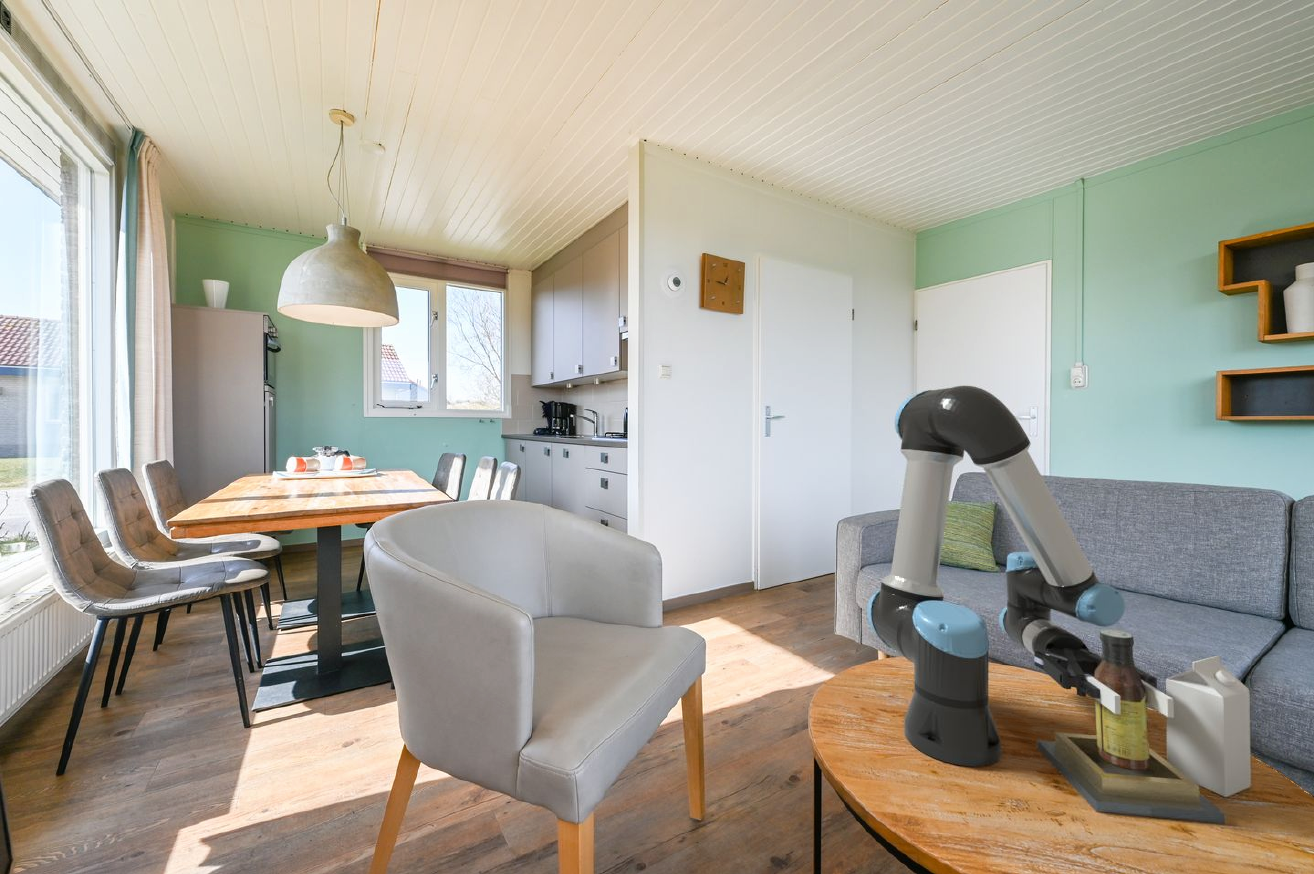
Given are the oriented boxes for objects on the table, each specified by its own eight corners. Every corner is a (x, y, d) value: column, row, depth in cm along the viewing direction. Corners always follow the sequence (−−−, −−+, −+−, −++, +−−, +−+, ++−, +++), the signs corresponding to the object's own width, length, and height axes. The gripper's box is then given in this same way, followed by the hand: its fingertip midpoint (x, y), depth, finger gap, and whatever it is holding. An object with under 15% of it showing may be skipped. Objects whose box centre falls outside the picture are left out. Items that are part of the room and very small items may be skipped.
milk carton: (1166, 771, 87) (1165, 653, 87) (1192, 761, 89) (1190, 647, 89) (1225, 798, 80) (1223, 671, 80) (1251, 787, 83) (1249, 664, 83)
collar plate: (1096, 811, 78) (1096, 783, 78) (1037, 748, 93) (1037, 725, 93) (1225, 824, 75) (1224, 795, 75) (1141, 757, 91) (1141, 733, 91)
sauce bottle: (1161, 773, 81) (1158, 641, 81) (1119, 773, 81) (1116, 641, 81) (1124, 748, 87) (1122, 626, 87) (1085, 748, 87) (1083, 626, 88)
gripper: (1112, 669, 100) (1219, 737, 78) (1000, 663, 103) (1072, 727, 81) (1111, 629, 100) (1218, 685, 78) (999, 624, 104) (1071, 677, 81)
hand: (1143, 706), depth 79 cm, fingers closed on sauce bottle, 6 cm apart
